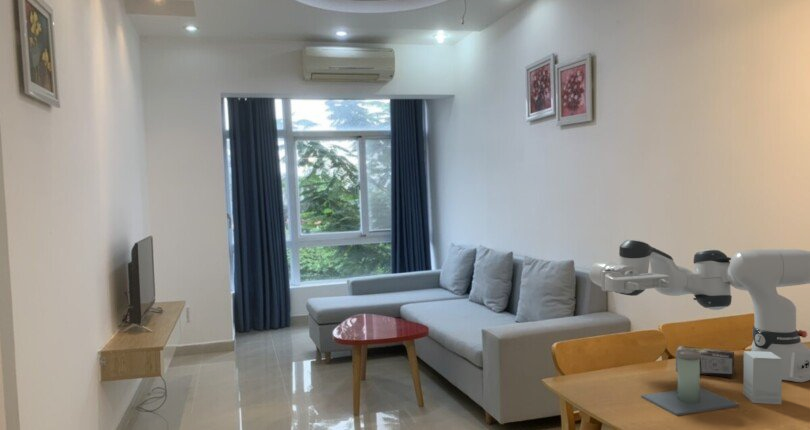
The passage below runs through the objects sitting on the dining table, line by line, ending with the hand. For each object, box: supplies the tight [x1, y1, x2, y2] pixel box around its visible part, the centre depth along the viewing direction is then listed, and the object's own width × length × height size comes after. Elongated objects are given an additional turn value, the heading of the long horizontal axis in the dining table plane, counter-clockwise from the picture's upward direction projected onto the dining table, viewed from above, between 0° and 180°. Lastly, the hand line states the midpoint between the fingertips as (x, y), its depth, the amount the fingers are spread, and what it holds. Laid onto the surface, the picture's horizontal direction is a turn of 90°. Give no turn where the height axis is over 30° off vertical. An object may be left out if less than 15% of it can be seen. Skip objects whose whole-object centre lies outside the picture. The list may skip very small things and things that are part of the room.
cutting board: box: [640, 386, 740, 416], centre depth 163 cm, size 20×14×1 cm
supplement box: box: [743, 350, 783, 405], centre depth 163 cm, size 7×7×13 cm
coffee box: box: [675, 345, 735, 379], centre depth 188 cm, size 9×6×16 cm
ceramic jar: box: [675, 349, 701, 403], centre depth 163 cm, size 6×6×13 cm
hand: (654, 286), depth 175 cm, fingers open, 8 cm apart
